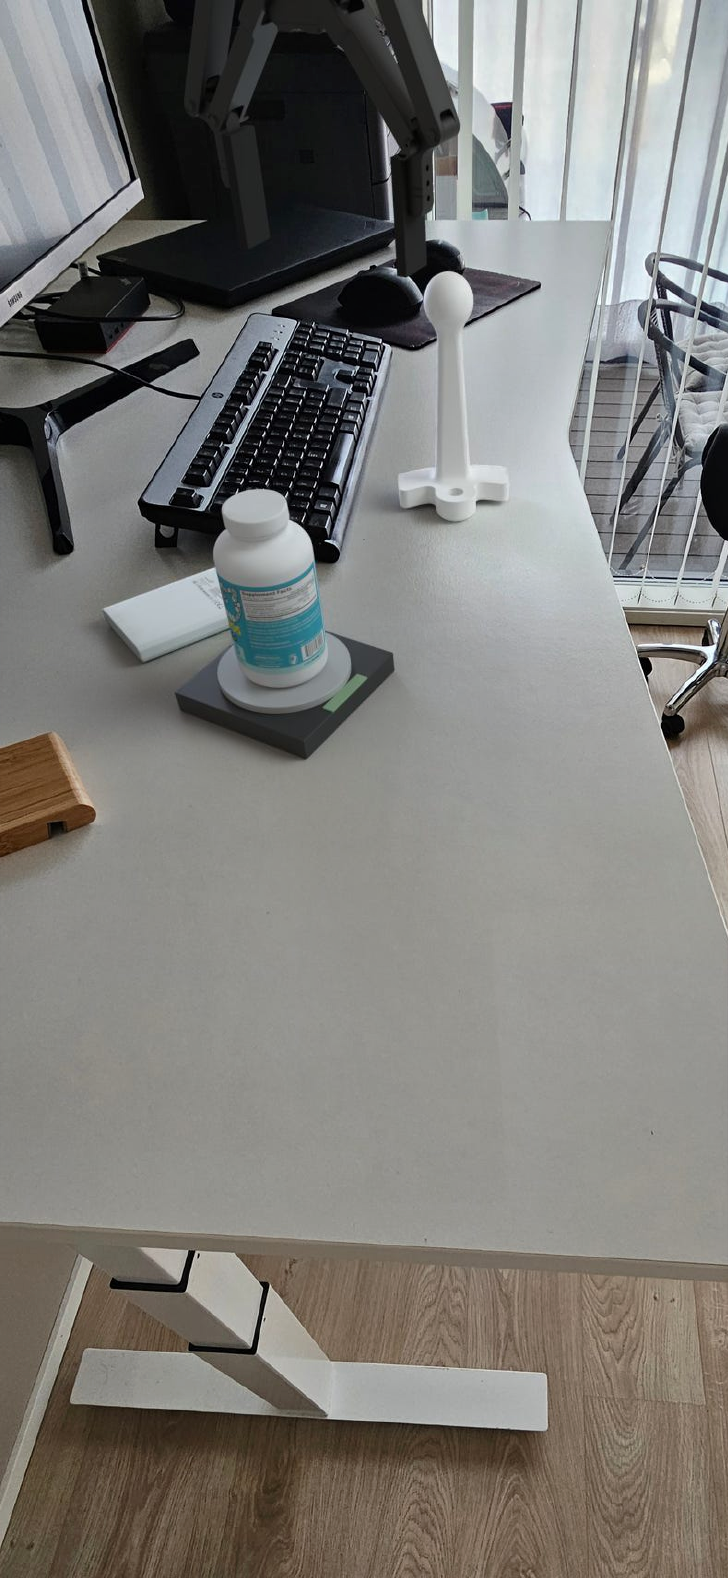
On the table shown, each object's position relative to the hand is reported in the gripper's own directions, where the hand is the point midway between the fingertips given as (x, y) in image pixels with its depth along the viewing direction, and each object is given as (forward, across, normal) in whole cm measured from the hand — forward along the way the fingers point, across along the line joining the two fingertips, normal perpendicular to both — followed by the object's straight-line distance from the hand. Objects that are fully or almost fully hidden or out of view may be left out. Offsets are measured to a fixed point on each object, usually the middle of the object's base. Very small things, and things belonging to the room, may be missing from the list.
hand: (331, 257), depth 70 cm
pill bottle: (+24, -2, +15) cm, 29 cm away
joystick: (+27, +1, -18) cm, 32 cm away
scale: (+27, -2, +15) cm, 31 cm away
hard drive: (+27, +12, +11) cm, 32 cm away
